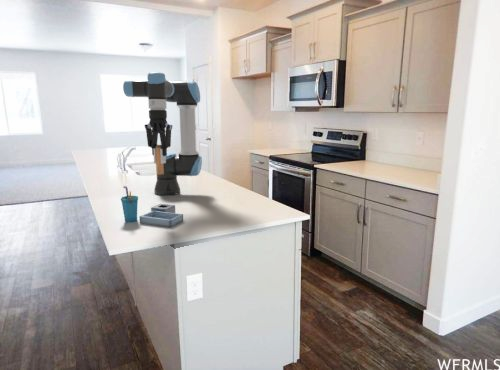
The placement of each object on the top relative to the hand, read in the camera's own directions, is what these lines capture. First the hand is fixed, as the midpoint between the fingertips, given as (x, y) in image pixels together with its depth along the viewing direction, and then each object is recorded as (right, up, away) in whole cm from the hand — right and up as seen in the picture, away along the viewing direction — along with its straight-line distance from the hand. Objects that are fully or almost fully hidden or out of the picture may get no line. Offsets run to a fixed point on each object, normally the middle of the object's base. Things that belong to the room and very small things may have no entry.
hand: (159, 162), depth 162 cm
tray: (+1, -26, -1) cm, 26 cm away
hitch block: (-1, -24, +10) cm, 26 cm away
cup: (-14, -26, +1) cm, 29 cm away
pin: (0, -5, +1) cm, 5 cm away
